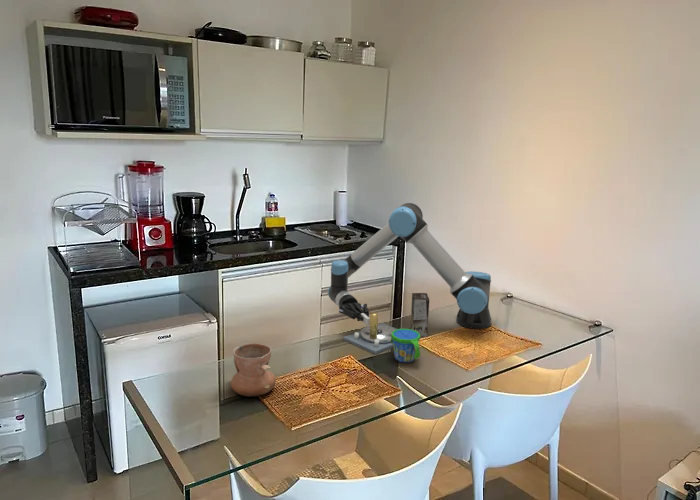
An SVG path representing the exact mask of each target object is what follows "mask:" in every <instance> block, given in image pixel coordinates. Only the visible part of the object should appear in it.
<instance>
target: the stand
mask: <svg viewBox="0 0 700 500" xmlns="http://www.w3.org/2000/svg"><path fill="white" fill-rule="evenodd" d="M378 325H382V326H388V327H391V328H394V329H395V330H397V329H398V328H396V327H393V326H390V325H389V324H386V323H384V322H382V323H379V324H378ZM342 338H343V339H342V340H343V341H345V342H347V343H349V342H350V343H349V344H351V343H352V345H353V346H355V347H359V348H360V349H363V350H364V351H367V352H369V353H371V354H373V355H378V354H380V353H383V352H385V351H387V350H390V349H392V348H393V344H392V343H391V342H389V343H379V340H378V339H376V340H375V342H374V343H372V342H368V341H366V340H364V339H362V337H361V330H359V331H355V332H354V333H351V334H349V335H345V336H343V337H342Z"/></svg>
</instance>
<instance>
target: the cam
mask: <svg viewBox="0 0 700 500" xmlns="http://www.w3.org/2000/svg"><path fill="white" fill-rule="evenodd" d="M369 318H370V325H367V326H365V327H363V328H362V329H360V331H361V337H362V339H364V340H366V341H368V342H372V343H374V342H375V340H376V339H378V340H379V343H389V342H391V334H392V332H393V331H394V330H395V329H394V328H395V327H394V328H391V327H392V326H391V327H388V326H389V325H388V326H382V325H379V324H378V323H379V314H378V312H369Z"/></svg>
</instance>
